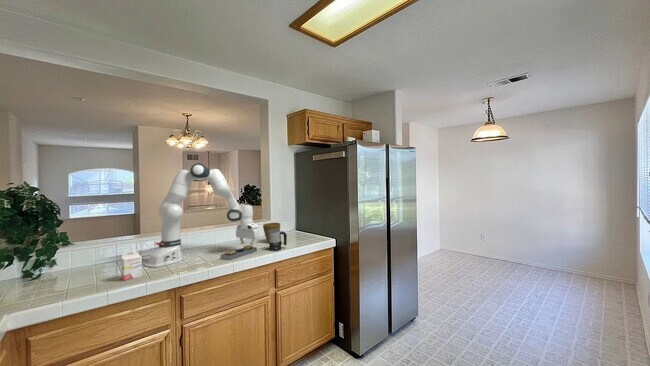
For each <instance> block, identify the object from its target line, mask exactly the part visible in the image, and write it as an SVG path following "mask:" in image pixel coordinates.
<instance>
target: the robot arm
mask: <svg viewBox="0 0 650 366" xmlns="http://www.w3.org/2000/svg"><path fill="white" fill-rule="evenodd" d="M204 181H207V182H208V183H209V185H210V187H211V189H212V191H213V192H214V193H215V194H216V195H218V196H219V197H222V198H224V199H225V200H226V202H227V204H228V205H229V207H230V209H229V210H228V211H227V213H226V218H227V219H228V221H230V222H238V221H240V224H238V225H236V229H235V237H236V238H238V239H239V240H240V244H241V245H244V244H245V241H244V240H243V239H248V240H250V241H251V242H250V243H249V245H252V246H253V245H254V242H255V240H258V239H259V238H260V237H259V236H260V231H259V225H258V224H257V223H254V219H253V217H254V209H253V205H252V204H250V203H247V202H246V203H244V202H243V203H241V204H239V202H238V200H237V198H236V196H234V193H233V192H232V190H231V188H230V186H229V184H228V181H227V180H226V178H225V176H224V175H223V173H222V172H221V170H220V169H218V168H211V169H210V167H208V166H206V165H204V164H202V163H200V162H199V163H198V162H196V163H194V164H193V165H192V166H191V167H190V169H189V170H188V169H180V170H179V171H178V172H177V173H176V175H175V177H174V178H173V181H172V183H171V186H170V188H169V191H168V192H167V194H166V196H165V197H164V198H163V200H162V202H161V204H160V206H159V207H158V211H157V212H158V215H159V216H160V218H162V224H161V228H160V233H161V235H160V236H161V237H160V239H161V240H160V242H158V241H157V242H155V246H158V247H157V248H156V249H155V250H154V251H153V252H151V253H150V254H149V256H148V261H147V262H145V263H144V267H146V268H159V267H164V266H169V265H173V264H177V263H181V262H182V261H183V260H184V257H183V253H182V247H181V246H182V239H181V221H182V215H183V208H182V207H181V204H182V202H183V201H184V200H185V199H186V196H187V194H188V191H189V190H190V186H191V185H192V183H193V182H204Z"/></svg>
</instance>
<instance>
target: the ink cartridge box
mask: <svg viewBox="0 0 650 366" xmlns="http://www.w3.org/2000/svg"><path fill="white" fill-rule="evenodd" d="M139 253H140V250H139V249H134V250H129V251H124V252H122V253H121V259H120V261H121V263H120V264H121V267H120V269H121V280H122V281H128V280H133V278H134V279H137V277H138V278H141V276H142V277H143V262H142V261H143V260H142V259H143V258H142V255H140V254H139Z"/></svg>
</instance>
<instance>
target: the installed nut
mask: <svg viewBox="0 0 650 366" xmlns="http://www.w3.org/2000/svg"><path fill="white" fill-rule="evenodd" d="M234 250H235V249H234ZM234 250H233V249H230V250H227V251H225V252H224V253H226V255H233V254H236V251H234Z"/></svg>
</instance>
